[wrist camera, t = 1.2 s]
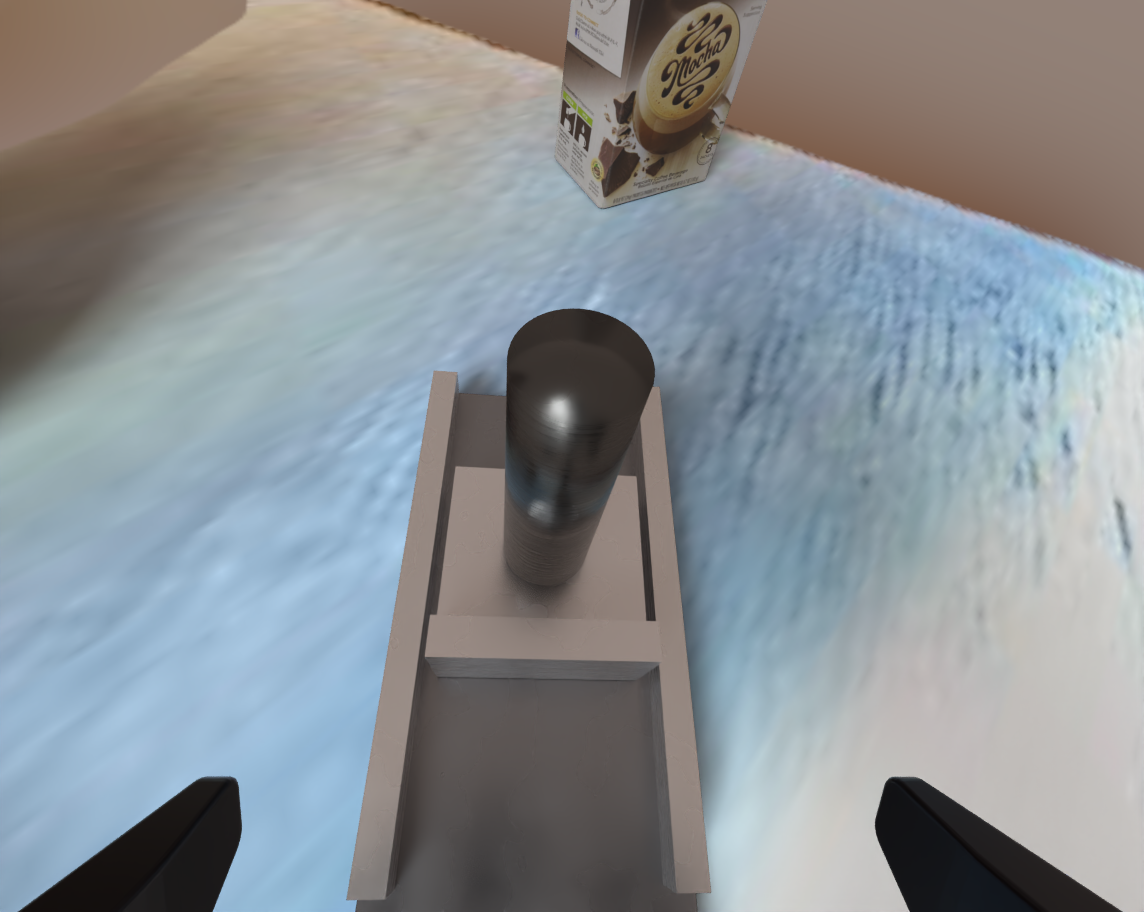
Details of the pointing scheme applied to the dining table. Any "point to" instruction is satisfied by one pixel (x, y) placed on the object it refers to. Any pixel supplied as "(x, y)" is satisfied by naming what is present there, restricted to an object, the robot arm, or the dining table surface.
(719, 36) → the coffee box
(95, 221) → the dining table surface
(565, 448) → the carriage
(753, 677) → the dining table surface
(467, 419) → the base
